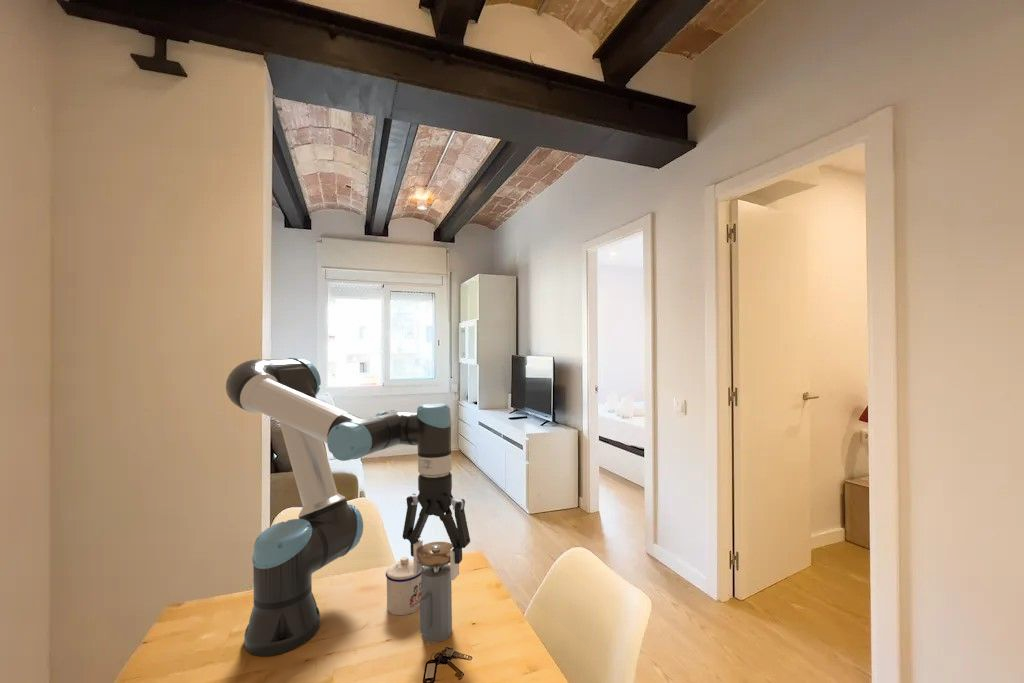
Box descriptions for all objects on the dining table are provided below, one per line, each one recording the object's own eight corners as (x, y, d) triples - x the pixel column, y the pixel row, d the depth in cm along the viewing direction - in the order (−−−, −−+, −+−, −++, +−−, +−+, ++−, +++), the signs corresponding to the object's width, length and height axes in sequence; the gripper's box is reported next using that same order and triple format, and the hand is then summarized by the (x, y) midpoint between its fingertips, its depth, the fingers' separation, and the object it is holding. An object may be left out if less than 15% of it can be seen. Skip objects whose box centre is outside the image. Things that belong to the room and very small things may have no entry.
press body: (409, 646, 92) (408, 580, 93) (431, 620, 101) (430, 560, 102) (436, 653, 90) (435, 586, 90) (456, 626, 99) (456, 564, 99)
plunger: (409, 618, 95) (408, 552, 95) (429, 597, 103) (428, 536, 103) (444, 626, 92) (443, 558, 92) (462, 603, 100) (461, 541, 100)
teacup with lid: (416, 617, 102) (416, 568, 103) (379, 615, 103) (379, 566, 104) (431, 589, 114) (431, 545, 115) (398, 588, 115) (397, 544, 116)
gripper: (384, 473, 98) (386, 574, 97) (471, 481, 91) (472, 590, 90) (403, 465, 105) (404, 559, 104) (484, 472, 98) (486, 572, 97)
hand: (436, 573), depth 97 cm, fingers closed on plunger, 9 cm apart
